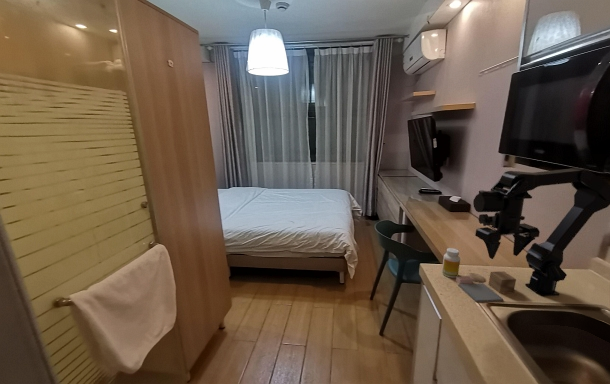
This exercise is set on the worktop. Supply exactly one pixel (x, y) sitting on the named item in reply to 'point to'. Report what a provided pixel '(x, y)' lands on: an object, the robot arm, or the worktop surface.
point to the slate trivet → (480, 292)
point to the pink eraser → (464, 280)
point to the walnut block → (502, 282)
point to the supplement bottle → (451, 263)
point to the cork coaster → (476, 277)
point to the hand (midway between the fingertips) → (503, 256)
